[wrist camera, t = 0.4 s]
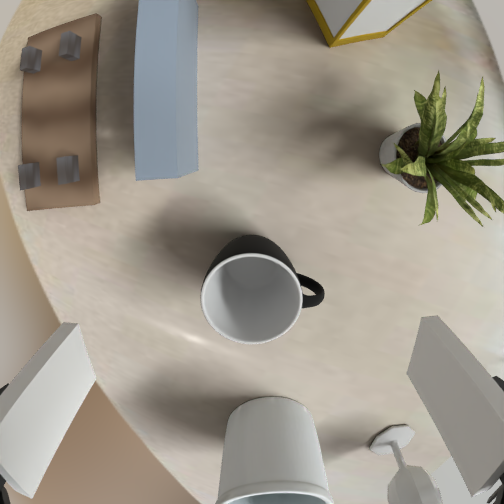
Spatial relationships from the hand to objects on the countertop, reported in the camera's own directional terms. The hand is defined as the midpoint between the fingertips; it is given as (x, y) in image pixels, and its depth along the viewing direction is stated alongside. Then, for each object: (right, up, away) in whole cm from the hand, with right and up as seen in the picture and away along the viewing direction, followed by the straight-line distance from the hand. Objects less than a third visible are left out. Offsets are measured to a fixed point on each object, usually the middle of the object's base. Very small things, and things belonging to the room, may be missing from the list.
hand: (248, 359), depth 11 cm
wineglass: (+26, -31, +37) cm, 55 cm away
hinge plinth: (-24, +21, +20) cm, 38 cm away
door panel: (-8, +22, +20) cm, 31 cm away
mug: (+2, +2, +26) cm, 27 cm away
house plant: (+18, +15, +22) cm, 33 cm away
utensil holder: (+3, -23, +35) cm, 42 cm away
